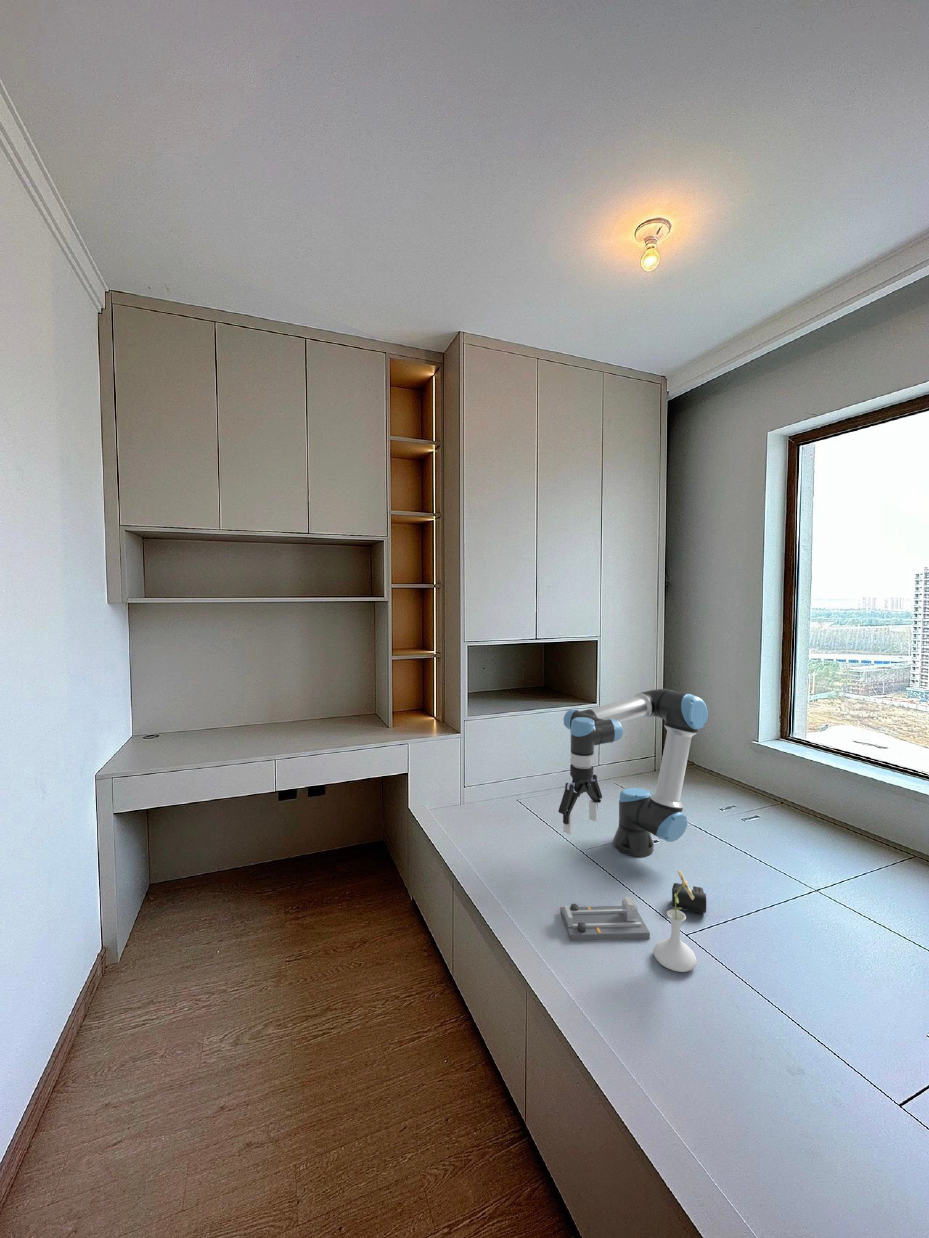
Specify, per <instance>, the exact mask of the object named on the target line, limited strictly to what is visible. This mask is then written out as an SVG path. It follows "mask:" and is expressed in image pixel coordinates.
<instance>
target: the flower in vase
mask: <svg viewBox="0 0 929 1238" xmlns="http://www.w3.org/2000/svg"><path fill="white" fill-rule="evenodd" d="M677 873H678V876H679V878H680V881H681V882H682V883H680V884H681V887H680V888H679V890H678V892H677V893H675V894H674V896H675V908H673V909H669V910H667V911H666V915H667V917H668V919H669V921H670V926H671V933H670V937H668V938H665V939H661V940H659V941H657V942H656V944H655V945H654V947H653V950H652V951H653V955H654V957H655V960H657V962H658V963H659V964H660V965H661V966H663V967H665V968H667V969H669V970H671V971H674V972H677V973H679V972H680V973H685V972H690V971H692V970H693V969H695V967H696V966H697V964H698V961H697V956H696V954H695V951H693V950H692V948H691V947H690V946H688V945H687V944H686V943H685V942H683V941H682V940H681V928H682V925H683V923H684V922H685V920H686V919H687V916H686V914H685V913H684V912H683V911H681V910H683V909H682V908H676V902H677V903H679V900H678V897H677V895H678V893H679V891H680V889H681V888H682V887H683V888H685V889H686V891H687V893H688V895H689V896H690V898H691V899H692V900H694V899H693V898H694V896H693V894H692V893H691V892H692V891H691V890H692V889H691V888H690V887H689V885H688V881H687V879H685V876H684V874H683V872H682V871H681V870H680V869H679V870H677Z"/></svg>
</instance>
